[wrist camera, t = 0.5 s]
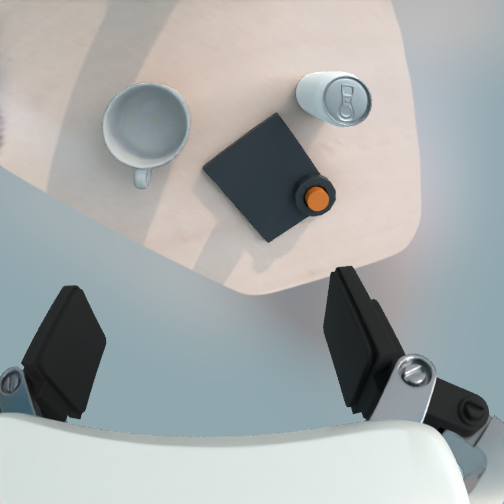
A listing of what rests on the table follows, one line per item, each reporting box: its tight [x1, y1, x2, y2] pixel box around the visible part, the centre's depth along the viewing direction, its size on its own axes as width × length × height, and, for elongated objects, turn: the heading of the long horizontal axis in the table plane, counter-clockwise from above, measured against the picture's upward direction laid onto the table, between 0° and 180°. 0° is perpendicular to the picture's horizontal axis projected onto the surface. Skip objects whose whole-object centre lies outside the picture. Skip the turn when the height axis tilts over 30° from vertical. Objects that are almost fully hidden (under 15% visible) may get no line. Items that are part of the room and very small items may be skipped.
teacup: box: [102, 83, 191, 189], centre depth 34 cm, size 14×11×8 cm
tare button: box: [305, 187, 329, 211], centre depth 42 cm, size 3×3×2 cm
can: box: [296, 72, 372, 127], centre depth 32 cm, size 6×6×12 cm
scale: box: [203, 113, 336, 243], centre depth 42 cm, size 16×14×3 cm
